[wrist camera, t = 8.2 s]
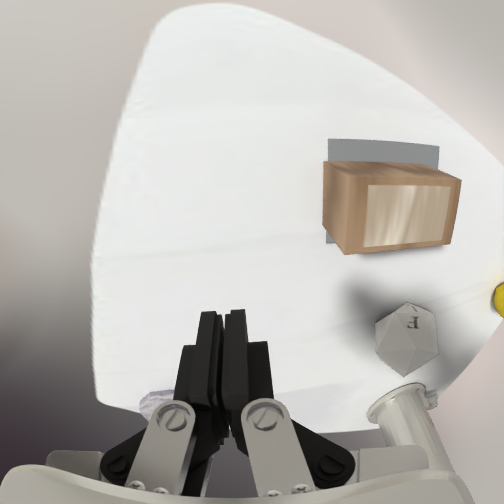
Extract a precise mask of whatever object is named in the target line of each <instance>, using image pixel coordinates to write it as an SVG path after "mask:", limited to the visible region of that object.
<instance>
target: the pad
mask: <svg viewBox="0 0 504 504" xmlns="http://www.w3.org/2000/svg"><path fill="white" fill-rule="evenodd" d="M328 161H365V162H396V163H414V164H425V165H427V166H430V167H432V168H435V169H437V170H438V161H439V146H432V145H424V144H415V143H404V142H392V141H378V140H357V139H328ZM328 243H335V241H334V240H333V239H332V237H331V236H330V234H329V233H328V232H327V231H326V244H328Z"/></svg>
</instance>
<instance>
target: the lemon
mask: <svg viewBox="0 0 504 504" xmlns="http://www.w3.org/2000/svg"><path fill="white" fill-rule="evenodd" d="M495 291H496V293H495V296H494V305H495V308H496V310H497V312H498V313H499V314H500V316H501V317H503V318H504V284H502V285H501V286H499V287H497V288H496V290H495Z"/></svg>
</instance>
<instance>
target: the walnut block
mask: <svg viewBox="0 0 504 504" xmlns="http://www.w3.org/2000/svg"><path fill="white" fill-rule="evenodd" d="M461 181H462V180H460V179H458V178H456V177H454V176H451V175H449V174H447V173H444V172H442V171H440V170H437V169H435V168H432V167H430V166H427V165H425V164H414V163H396V162H365V161H324V179H323V223H322V225H323V226H324V228H325V229H326V230H327V232H328V233H329V234H330V236H331V237H332V239H333V240H334V241H335V243H336V244H337V245H338V247H339V248H340V250H341V251H342V252H343V254H344V255H350V254H360V253H370V252H380V251H390V250H399V249H409V248H419V247H428V246H437V245H446V244H450V243H451V238H452V234H453V229H454V224H455V219H456V213H457V208H458V202H459V195H460V188H461Z"/></svg>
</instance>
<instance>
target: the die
mask: <svg viewBox="0 0 504 504" xmlns="http://www.w3.org/2000/svg"><path fill="white" fill-rule="evenodd" d="M375 336H376V353H377V355H378V356H379V358H380V359H381V360H382V361H383V362H384V363H386V364H387V365H388V366H390V367H391V368H392V369H394V370H395V371H396V372H397V373H399V374H400V375H401V376H403V377H405V376H406V375H408V374H410V373H411V372H413V371H414V370H416V369H417V368H419V367H421V366H422V365H424V364H425V363H427V362H428V361H429V360H431V359H432V358H434V357H435V356H437V355H438V354H439V351H438V341H437V332H436V324H435V316H434V314H433V313H431V312H429V311H426V310H424V309H422V308H420V307H417V306H415V305H413V304H410V303H408V302H407V303H406V304H404V305H403V306H401V307H400V308H398V309H397V310H395V311H394V312H392V313H391V314H389V315H388V316H386V317H385V318H383V319H381V320H380V321H378V322H377V323H375Z"/></svg>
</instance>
